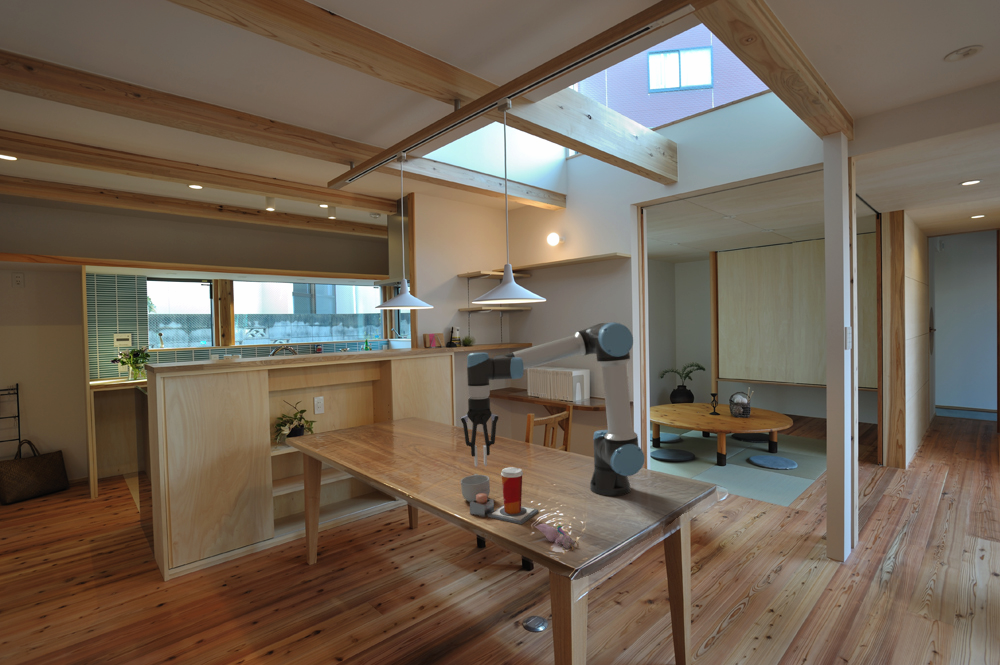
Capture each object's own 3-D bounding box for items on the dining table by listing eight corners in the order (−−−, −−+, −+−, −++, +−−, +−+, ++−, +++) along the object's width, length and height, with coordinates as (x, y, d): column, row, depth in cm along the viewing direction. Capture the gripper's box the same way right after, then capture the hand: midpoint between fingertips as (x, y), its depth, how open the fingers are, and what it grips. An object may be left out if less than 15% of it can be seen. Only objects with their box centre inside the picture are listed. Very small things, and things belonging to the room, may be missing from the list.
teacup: (486, 506, 170) (486, 483, 170) (457, 504, 172) (457, 482, 172) (494, 492, 183) (493, 472, 183) (467, 491, 185) (466, 471, 185)
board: (538, 511, 163) (538, 508, 163) (521, 524, 153) (521, 520, 153) (506, 505, 170) (505, 502, 170) (487, 517, 159) (487, 513, 159)
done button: (489, 502, 164) (489, 494, 164) (483, 506, 161) (483, 497, 161) (480, 501, 166) (480, 492, 166) (474, 504, 163) (473, 496, 163)
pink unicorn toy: (581, 550, 137) (542, 527, 147) (583, 531, 136) (544, 509, 146) (568, 558, 132) (528, 534, 143) (570, 538, 131) (530, 515, 142)
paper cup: (510, 505, 166) (509, 465, 166) (528, 509, 162) (527, 469, 162) (496, 512, 160) (495, 471, 160) (514, 517, 156) (513, 475, 155)
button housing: (494, 511, 165) (493, 499, 165) (484, 517, 159) (484, 505, 159) (479, 508, 168) (479, 496, 168) (470, 513, 163) (469, 502, 163)
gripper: (499, 394, 168) (501, 460, 168) (455, 397, 166) (457, 463, 166) (502, 397, 161) (504, 466, 161) (457, 400, 158) (459, 469, 158)
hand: (480, 464), depth 163 cm, fingers open, 3 cm apart
